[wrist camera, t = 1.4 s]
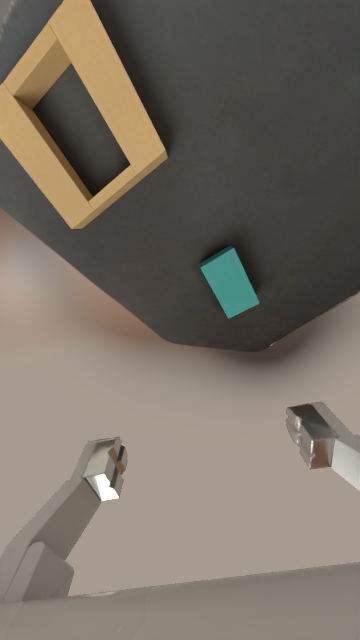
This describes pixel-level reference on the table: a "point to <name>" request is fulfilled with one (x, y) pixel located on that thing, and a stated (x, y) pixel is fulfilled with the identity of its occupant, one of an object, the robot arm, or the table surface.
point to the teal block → (229, 281)
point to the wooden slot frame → (108, 94)
